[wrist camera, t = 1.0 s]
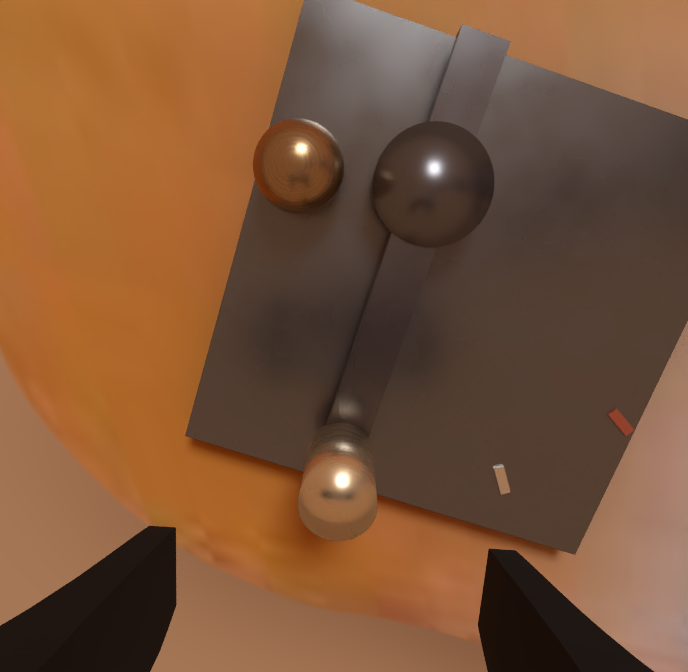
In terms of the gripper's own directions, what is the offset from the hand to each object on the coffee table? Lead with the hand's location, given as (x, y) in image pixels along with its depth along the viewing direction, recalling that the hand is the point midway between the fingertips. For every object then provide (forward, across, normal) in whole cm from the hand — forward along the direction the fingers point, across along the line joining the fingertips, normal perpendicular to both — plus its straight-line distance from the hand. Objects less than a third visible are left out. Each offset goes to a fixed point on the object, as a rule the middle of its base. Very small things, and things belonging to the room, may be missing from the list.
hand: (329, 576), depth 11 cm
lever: (+8, -2, -6) cm, 10 cm away
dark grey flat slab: (+10, -4, -5) cm, 12 cm away
